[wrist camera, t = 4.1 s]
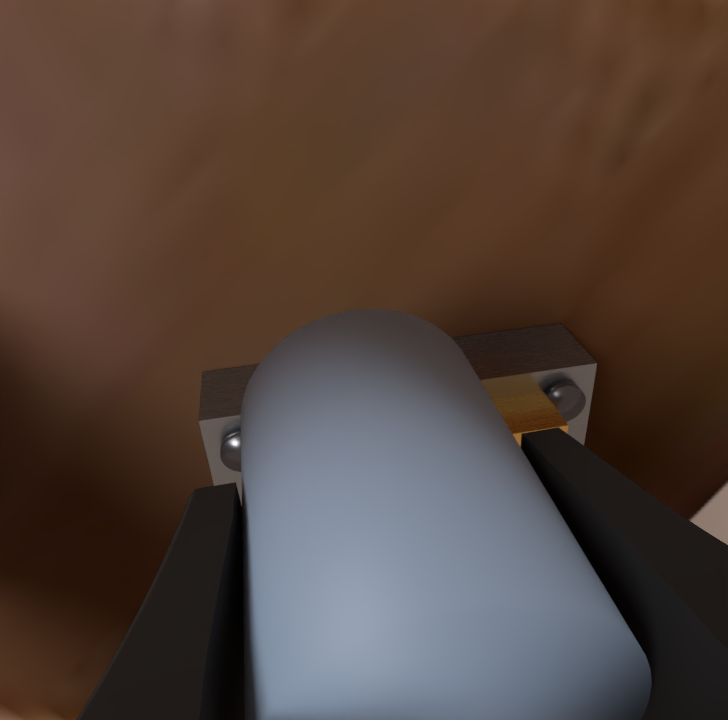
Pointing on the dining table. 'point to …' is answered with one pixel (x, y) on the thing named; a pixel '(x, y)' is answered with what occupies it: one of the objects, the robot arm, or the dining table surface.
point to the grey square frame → (491, 364)
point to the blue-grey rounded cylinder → (410, 545)
